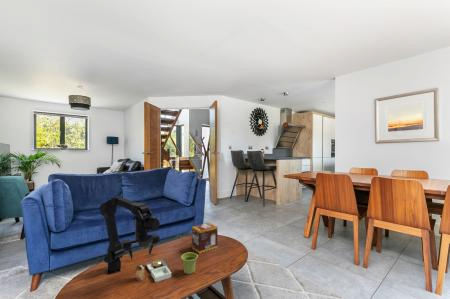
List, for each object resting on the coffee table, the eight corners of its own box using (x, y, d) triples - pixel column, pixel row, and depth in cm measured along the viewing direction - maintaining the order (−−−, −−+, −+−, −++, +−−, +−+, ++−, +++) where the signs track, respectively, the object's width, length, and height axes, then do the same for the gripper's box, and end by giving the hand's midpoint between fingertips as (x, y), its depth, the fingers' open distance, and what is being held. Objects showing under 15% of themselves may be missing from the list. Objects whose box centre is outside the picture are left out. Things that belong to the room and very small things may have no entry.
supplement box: (191, 248, 155) (191, 226, 156) (209, 243, 165) (209, 222, 165) (199, 253, 147) (199, 230, 147) (217, 247, 156) (217, 226, 157)
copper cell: (137, 281, 115) (137, 268, 115) (135, 278, 119) (135, 265, 119) (145, 279, 117) (145, 266, 118) (143, 275, 121) (143, 262, 121)
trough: (155, 282, 115) (155, 277, 115) (150, 274, 122) (150, 270, 122) (171, 277, 120) (171, 272, 120) (165, 270, 127) (166, 265, 127)
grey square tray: (150, 273, 123) (150, 271, 123) (145, 265, 131) (145, 263, 131) (168, 268, 129) (168, 266, 129) (162, 261, 137) (162, 259, 137)
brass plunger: (153, 268, 126) (153, 265, 126) (151, 264, 131) (151, 261, 131) (162, 265, 129) (162, 262, 129) (160, 261, 134) (160, 258, 134)
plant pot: (197, 266, 131) (197, 251, 131) (198, 275, 122) (198, 259, 122) (181, 267, 129) (181, 253, 129) (180, 276, 120) (180, 260, 120)
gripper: (125, 236, 107) (124, 268, 106) (163, 229, 117) (162, 258, 117) (121, 229, 116) (120, 259, 116) (156, 223, 126) (156, 250, 126)
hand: (140, 256), depth 118 cm, fingers open, 9 cm apart
